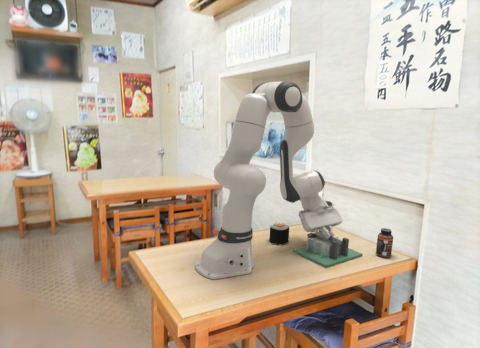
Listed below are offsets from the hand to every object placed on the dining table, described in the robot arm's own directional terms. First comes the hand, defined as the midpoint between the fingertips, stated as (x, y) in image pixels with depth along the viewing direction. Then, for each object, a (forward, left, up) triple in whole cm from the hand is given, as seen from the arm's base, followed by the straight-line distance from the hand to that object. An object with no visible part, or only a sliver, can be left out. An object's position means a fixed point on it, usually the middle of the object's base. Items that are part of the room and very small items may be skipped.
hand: (330, 237), depth 140 cm
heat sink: (0, +2, -7) cm, 7 cm away
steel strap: (0, +2, -2) cm, 2 cm away
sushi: (-8, +22, -8) cm, 25 cm away
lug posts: (0, -5, -8) cm, 9 cm away
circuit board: (0, +1, -8) cm, 8 cm away
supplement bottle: (+20, -12, -8) cm, 24 cm away
